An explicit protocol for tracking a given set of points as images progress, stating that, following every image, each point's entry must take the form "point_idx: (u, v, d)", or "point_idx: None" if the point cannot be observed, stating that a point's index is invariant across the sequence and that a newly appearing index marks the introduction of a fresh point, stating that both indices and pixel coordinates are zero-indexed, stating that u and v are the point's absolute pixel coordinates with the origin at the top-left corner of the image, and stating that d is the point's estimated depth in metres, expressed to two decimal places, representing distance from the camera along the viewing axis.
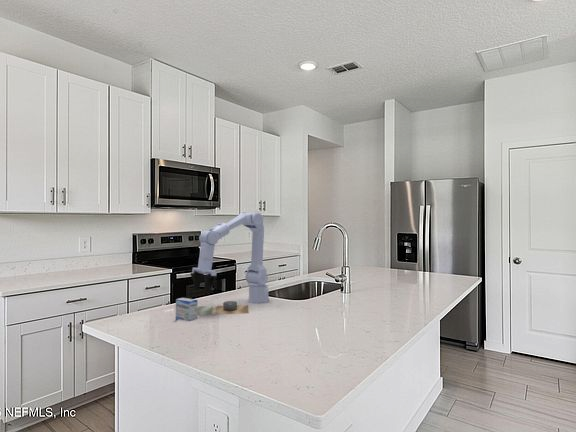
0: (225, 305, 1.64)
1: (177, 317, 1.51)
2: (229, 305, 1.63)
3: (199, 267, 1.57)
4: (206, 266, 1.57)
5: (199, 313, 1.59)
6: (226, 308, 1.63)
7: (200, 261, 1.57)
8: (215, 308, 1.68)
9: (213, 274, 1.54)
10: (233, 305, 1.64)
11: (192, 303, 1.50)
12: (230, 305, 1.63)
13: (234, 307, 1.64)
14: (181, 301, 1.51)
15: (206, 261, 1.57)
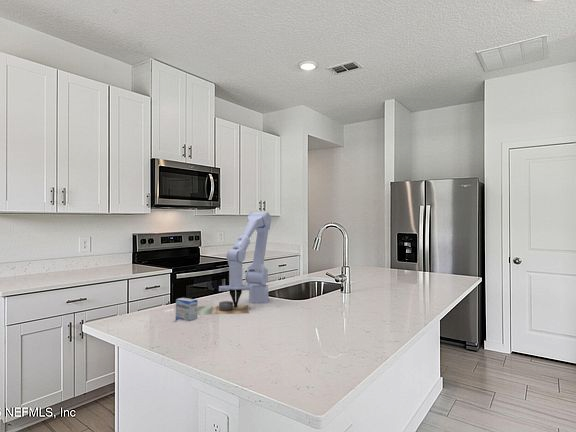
0: (221, 305, 1.63)
1: (177, 317, 1.51)
2: (225, 305, 1.63)
3: (236, 285, 1.63)
4: (241, 283, 1.65)
5: (199, 313, 1.59)
6: (222, 308, 1.63)
7: (236, 280, 1.63)
8: (215, 308, 1.68)
9: (252, 289, 1.67)
10: (229, 305, 1.63)
11: (192, 303, 1.50)
12: (226, 305, 1.63)
13: (230, 307, 1.64)
14: (181, 301, 1.51)
15: (241, 278, 1.65)
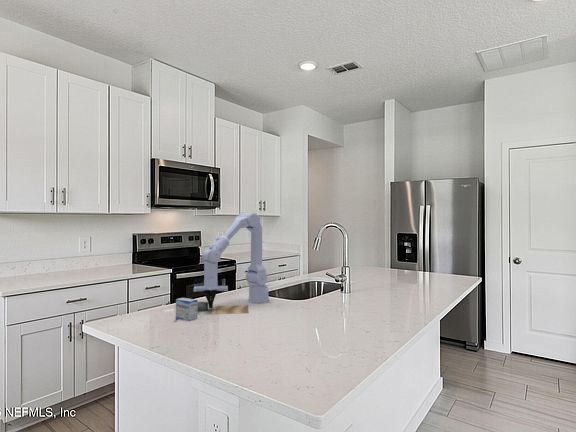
0: None
1: (177, 317, 1.51)
2: (199, 305, 1.62)
3: (210, 286, 1.62)
4: (216, 283, 1.64)
5: (199, 313, 1.59)
6: None
7: (211, 280, 1.62)
8: (215, 308, 1.68)
9: (227, 289, 1.65)
10: (203, 305, 1.62)
11: (192, 303, 1.50)
12: (200, 305, 1.62)
13: (204, 308, 1.63)
14: (181, 301, 1.51)
15: (216, 279, 1.64)
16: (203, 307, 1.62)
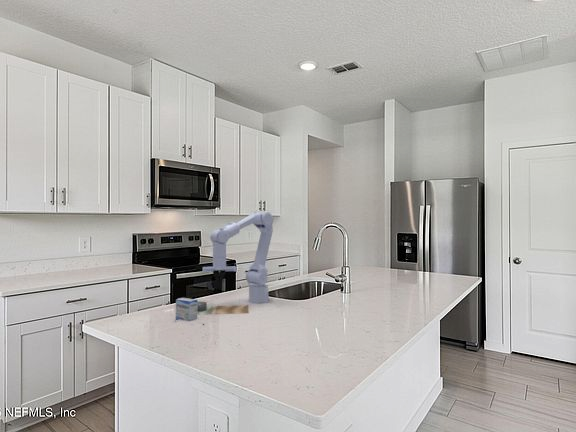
0: None
1: (177, 317, 1.51)
2: None
3: (219, 266, 1.64)
4: (225, 264, 1.66)
5: (199, 313, 1.59)
6: None
7: (219, 260, 1.64)
8: (215, 308, 1.68)
9: (235, 270, 1.67)
10: (202, 306, 1.62)
11: (192, 303, 1.50)
12: (198, 305, 1.62)
13: (203, 308, 1.63)
14: (181, 301, 1.51)
15: (225, 259, 1.66)
16: (202, 307, 1.62)
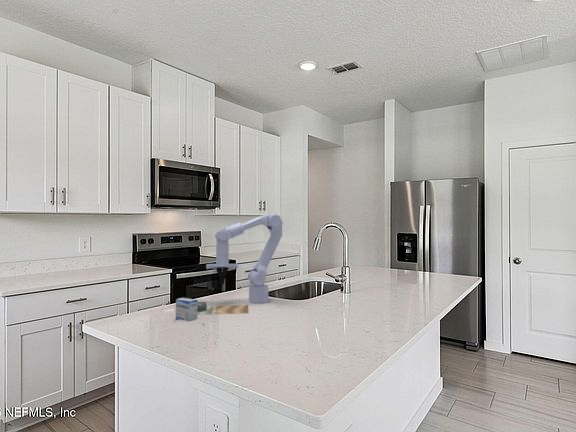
0: None
1: (177, 317, 1.51)
2: None
3: (222, 263, 1.73)
4: (227, 261, 1.74)
5: (199, 313, 1.59)
6: None
7: (222, 258, 1.73)
8: (215, 308, 1.68)
9: None
10: (202, 306, 1.62)
11: (192, 303, 1.50)
12: (198, 306, 1.62)
13: (203, 308, 1.63)
14: (181, 301, 1.51)
15: (227, 257, 1.74)
16: (202, 307, 1.62)
